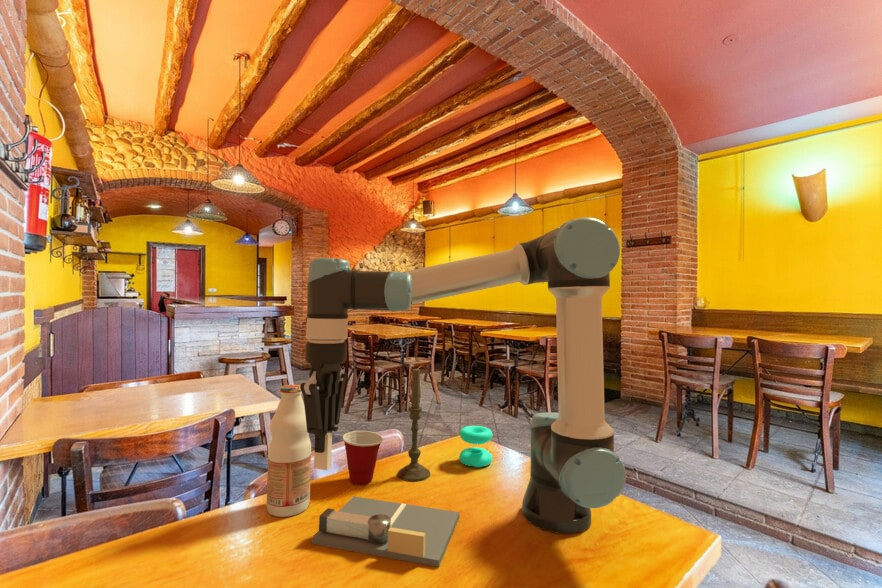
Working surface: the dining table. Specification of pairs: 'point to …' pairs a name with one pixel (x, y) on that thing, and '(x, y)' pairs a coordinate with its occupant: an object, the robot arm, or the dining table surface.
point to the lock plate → (399, 531)
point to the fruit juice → (289, 456)
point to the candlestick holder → (414, 436)
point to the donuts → (475, 454)
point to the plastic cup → (361, 455)
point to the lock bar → (355, 525)
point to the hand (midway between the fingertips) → (322, 467)
